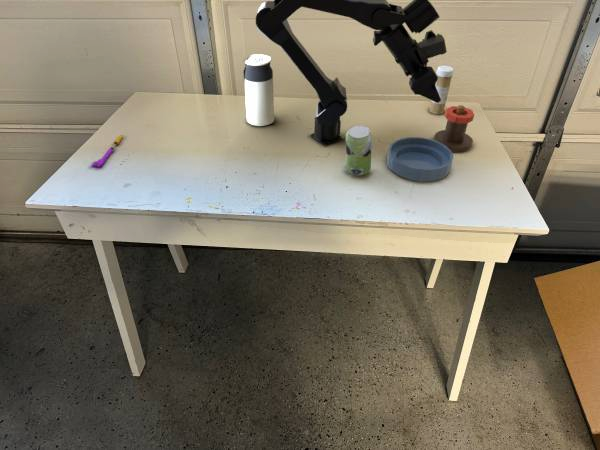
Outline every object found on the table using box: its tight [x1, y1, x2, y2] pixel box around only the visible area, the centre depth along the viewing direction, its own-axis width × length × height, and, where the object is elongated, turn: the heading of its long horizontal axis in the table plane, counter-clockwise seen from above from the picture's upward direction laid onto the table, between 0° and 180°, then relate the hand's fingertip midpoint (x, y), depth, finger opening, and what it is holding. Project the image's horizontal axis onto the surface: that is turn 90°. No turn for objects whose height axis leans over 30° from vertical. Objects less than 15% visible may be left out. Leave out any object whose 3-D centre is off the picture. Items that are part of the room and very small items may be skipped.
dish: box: [386, 136, 454, 182], centre depth 111 cm, size 16×16×4 cm
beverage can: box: [345, 124, 373, 176], centre depth 106 cm, size 6×7×12 cm
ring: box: [444, 105, 475, 124], centre depth 116 cm, size 7×7×2 cm
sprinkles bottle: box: [428, 65, 455, 115], centre depth 132 cm, size 5×5×13 cm
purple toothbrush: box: [91, 134, 124, 168], centre depth 116 cm, size 3×1×16 cm
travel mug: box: [243, 53, 275, 127], centre depth 125 cm, size 8×8×18 cm
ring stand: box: [433, 104, 474, 154], centre depth 118 cm, size 10×10×11 cm
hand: (435, 93), depth 114 cm, fingers open, 9 cm apart
